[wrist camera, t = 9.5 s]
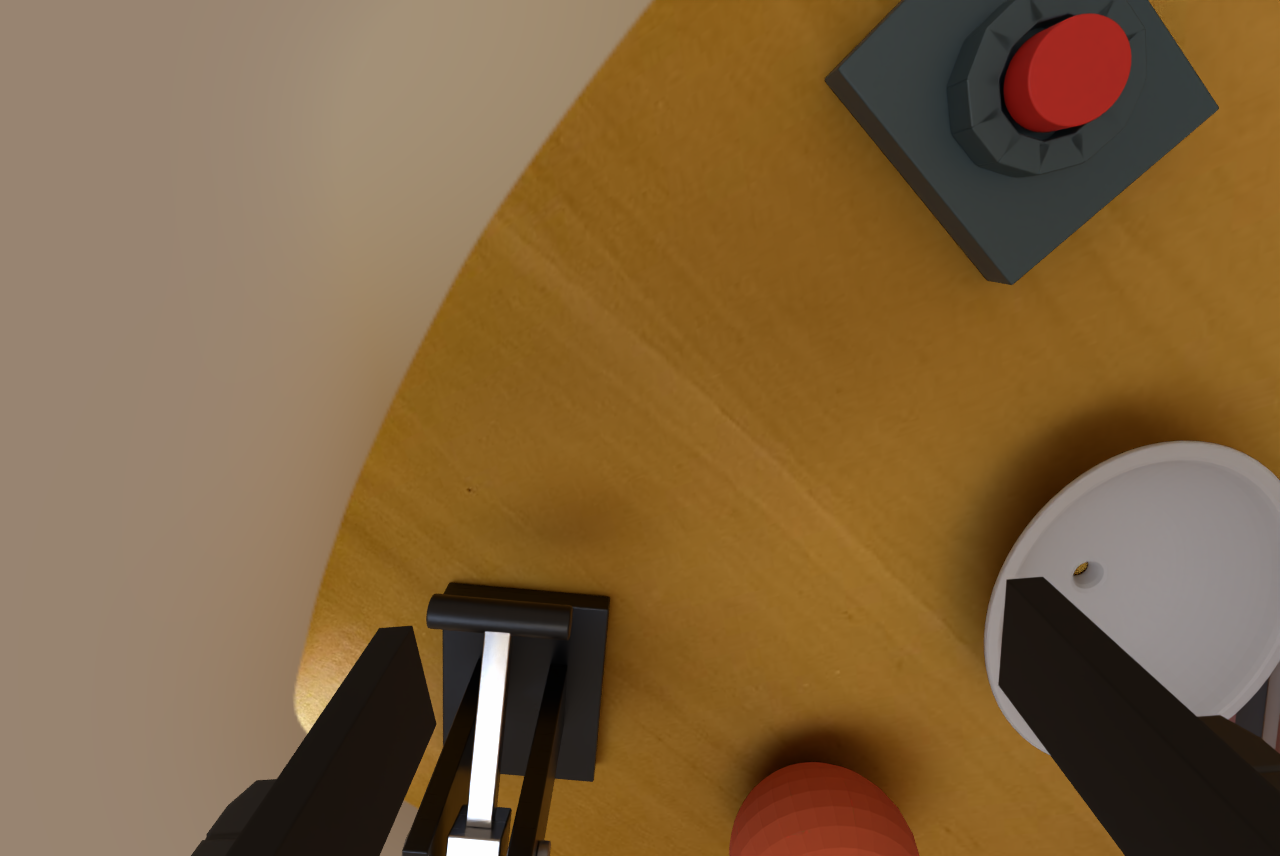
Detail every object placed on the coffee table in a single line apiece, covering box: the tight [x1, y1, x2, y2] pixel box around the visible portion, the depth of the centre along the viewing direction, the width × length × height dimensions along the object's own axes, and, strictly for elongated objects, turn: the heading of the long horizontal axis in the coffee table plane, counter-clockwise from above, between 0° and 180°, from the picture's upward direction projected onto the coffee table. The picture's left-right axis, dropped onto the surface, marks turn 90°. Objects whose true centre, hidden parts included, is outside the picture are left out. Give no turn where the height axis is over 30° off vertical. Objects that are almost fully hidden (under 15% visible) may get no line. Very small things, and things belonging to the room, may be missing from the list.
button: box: [1004, 13, 1132, 133], centre depth 24 cm, size 4×4×2 cm
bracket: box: [402, 583, 610, 856], centre depth 31 cm, size 12×9×13 cm
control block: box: [825, 0, 1219, 285], centre depth 26 cm, size 12×10×4 cm
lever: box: [426, 594, 573, 856], centre depth 27 cm, size 12×6×2 cm, turn 175°
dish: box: [984, 441, 1280, 755], centre depth 32 cm, size 18×14×5 cm
